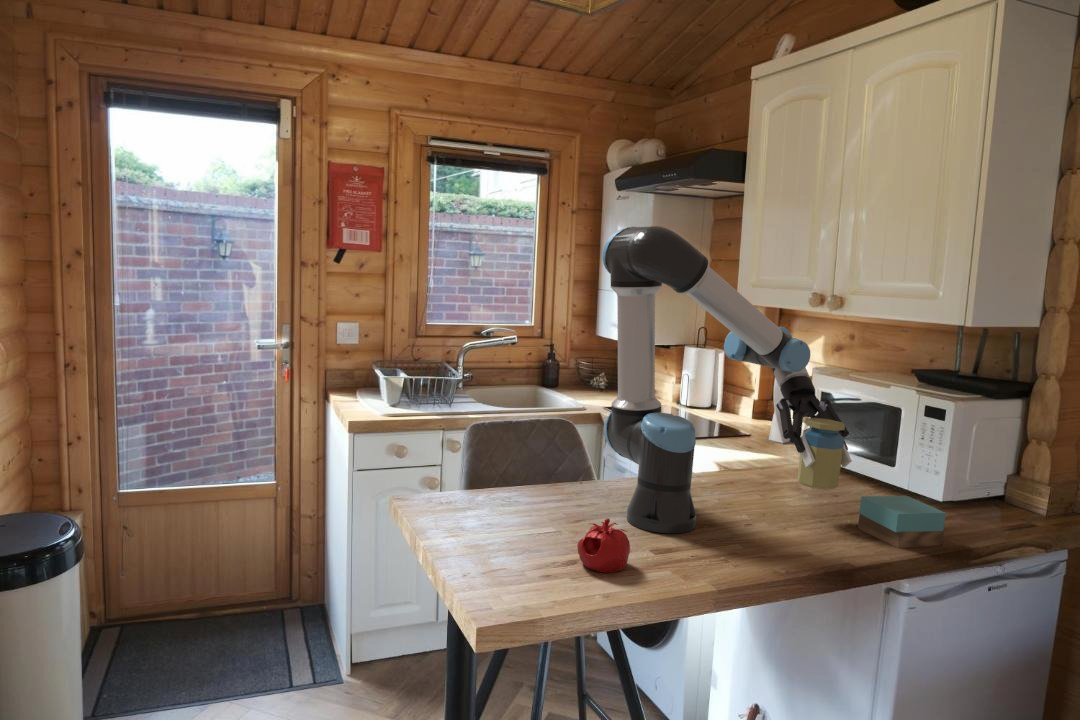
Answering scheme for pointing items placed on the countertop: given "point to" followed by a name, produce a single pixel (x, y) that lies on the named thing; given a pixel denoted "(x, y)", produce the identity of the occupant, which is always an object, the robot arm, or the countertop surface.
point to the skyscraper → (777, 419)
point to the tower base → (900, 535)
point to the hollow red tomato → (604, 548)
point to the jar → (822, 454)
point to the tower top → (902, 513)
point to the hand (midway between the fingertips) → (829, 464)
